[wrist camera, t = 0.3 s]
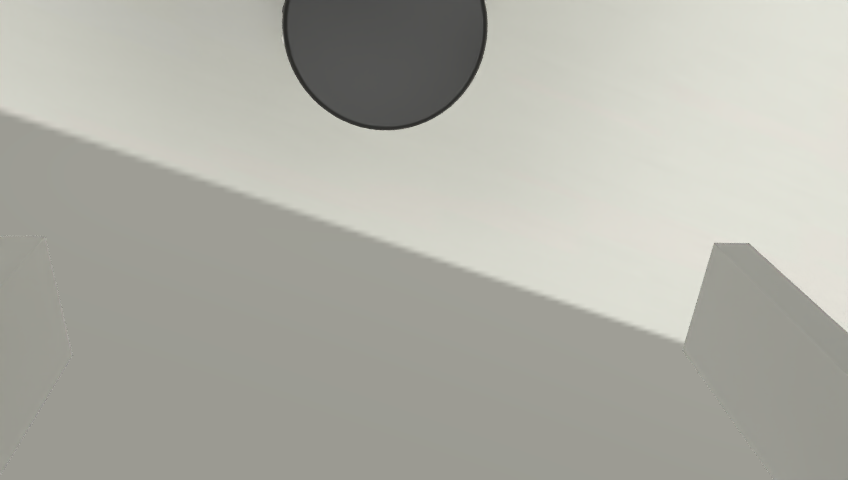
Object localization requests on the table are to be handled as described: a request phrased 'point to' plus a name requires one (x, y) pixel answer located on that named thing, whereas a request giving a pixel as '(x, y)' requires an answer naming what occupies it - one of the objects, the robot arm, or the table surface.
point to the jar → (385, 56)
